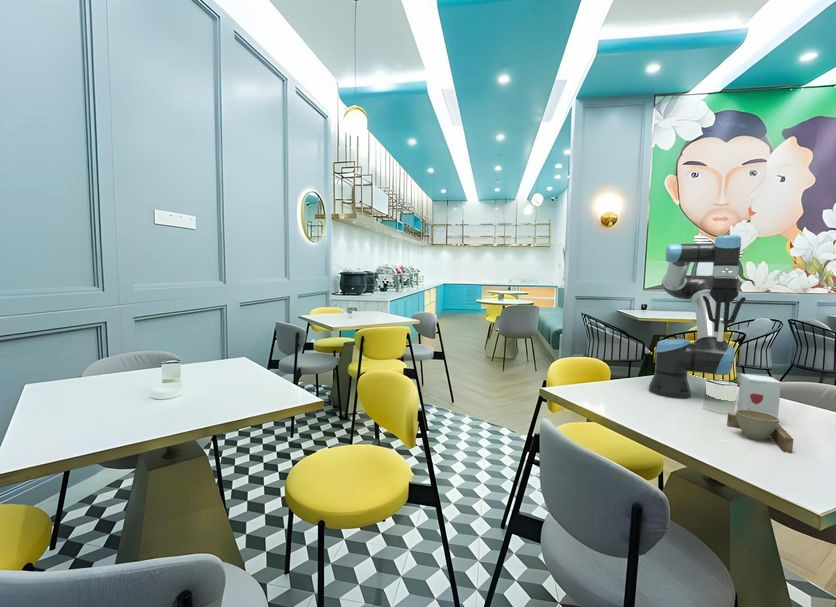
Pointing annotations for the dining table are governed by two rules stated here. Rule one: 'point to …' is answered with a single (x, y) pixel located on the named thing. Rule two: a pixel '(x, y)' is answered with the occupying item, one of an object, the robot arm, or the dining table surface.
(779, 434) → the l-shaped wooden block
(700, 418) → the dining table surface
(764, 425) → the flower pot
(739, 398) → the supplement box
